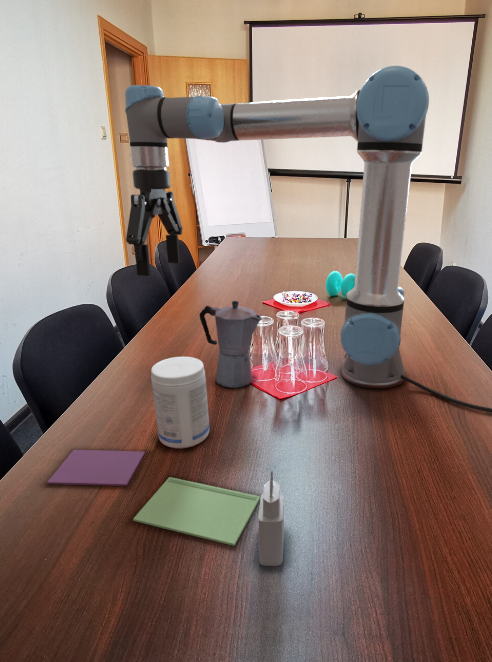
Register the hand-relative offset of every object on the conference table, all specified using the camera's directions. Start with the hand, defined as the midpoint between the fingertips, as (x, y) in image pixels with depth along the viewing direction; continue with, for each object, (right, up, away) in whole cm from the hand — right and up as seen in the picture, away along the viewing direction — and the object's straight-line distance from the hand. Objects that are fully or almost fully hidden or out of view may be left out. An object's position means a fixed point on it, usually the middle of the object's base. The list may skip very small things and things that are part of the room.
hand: (159, 268), depth 104 cm
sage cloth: (+16, -41, -34) cm, 56 cm away
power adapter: (+27, -44, -41) cm, 66 cm away
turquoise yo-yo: (+49, -1, +77) cm, 91 cm away
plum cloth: (-3, -37, -25) cm, 45 cm away
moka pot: (+15, -26, +7) cm, 31 cm away
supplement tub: (+9, -34, -16) cm, 39 cm away
